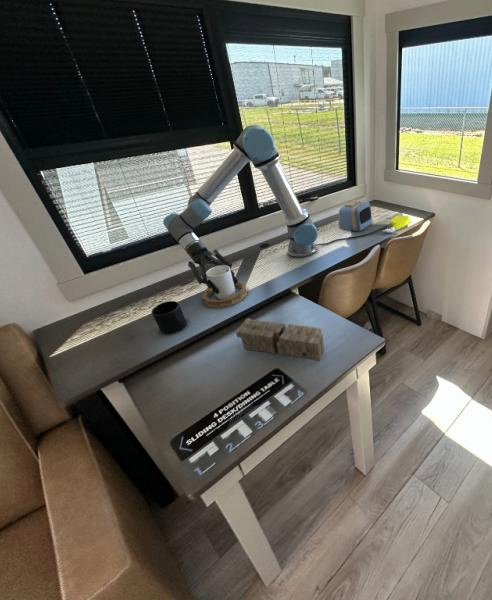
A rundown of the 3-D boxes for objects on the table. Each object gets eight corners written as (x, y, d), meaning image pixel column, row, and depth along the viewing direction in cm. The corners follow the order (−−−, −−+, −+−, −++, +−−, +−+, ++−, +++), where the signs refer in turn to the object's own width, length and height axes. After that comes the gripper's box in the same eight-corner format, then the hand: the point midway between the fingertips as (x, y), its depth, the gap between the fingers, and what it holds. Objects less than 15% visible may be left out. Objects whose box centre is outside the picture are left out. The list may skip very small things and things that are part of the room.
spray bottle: (411, 220, 201) (397, 235, 184) (395, 219, 206) (380, 233, 188) (411, 216, 199) (397, 230, 182) (395, 214, 204) (380, 228, 187)
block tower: (327, 347, 109) (252, 334, 115) (325, 328, 104) (247, 316, 111) (319, 363, 102) (240, 348, 109) (317, 344, 98) (234, 330, 104)
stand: (245, 281, 149) (244, 276, 147) (248, 301, 134) (246, 295, 133) (205, 290, 144) (203, 285, 143) (204, 311, 130) (201, 305, 128)
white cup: (214, 292, 141) (205, 268, 135) (236, 286, 144) (228, 263, 138) (215, 303, 134) (206, 278, 127) (238, 296, 137) (231, 272, 130)
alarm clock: (359, 233, 190) (358, 206, 181) (337, 228, 198) (335, 203, 189) (373, 224, 201) (372, 199, 192) (351, 220, 209) (350, 196, 200)
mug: (173, 339, 116) (163, 320, 111) (156, 329, 122) (146, 311, 117) (196, 325, 122) (187, 306, 117) (178, 316, 128) (169, 298, 123)
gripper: (213, 241, 144) (245, 279, 145) (168, 261, 129) (204, 303, 130) (216, 232, 138) (249, 272, 139) (170, 252, 124) (207, 296, 125)
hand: (227, 287), depth 135 cm, fingers closed on white cup, 9 cm apart
